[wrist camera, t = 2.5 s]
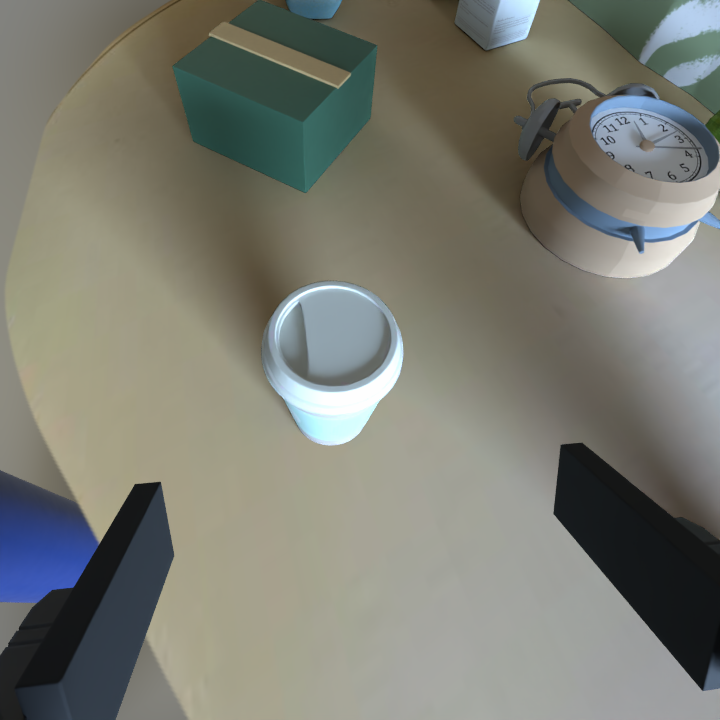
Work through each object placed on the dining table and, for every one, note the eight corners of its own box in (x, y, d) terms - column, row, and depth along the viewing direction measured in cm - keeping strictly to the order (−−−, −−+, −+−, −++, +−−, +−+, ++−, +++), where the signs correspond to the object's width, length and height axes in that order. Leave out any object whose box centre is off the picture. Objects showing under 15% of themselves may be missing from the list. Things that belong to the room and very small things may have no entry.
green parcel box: (191, 140, 51) (169, 62, 43) (265, 74, 57) (257, -5, 49) (307, 194, 48) (304, 120, 41) (372, 119, 54) (379, 43, 47)
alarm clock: (632, 229, 36) (492, 54, 46) (575, 299, 44) (466, 138, 54) (797, 185, 40) (636, 31, 50) (716, 256, 48) (591, 112, 58)
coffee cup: (307, 347, 40) (301, 253, 30) (400, 387, 39) (429, 305, 28) (255, 434, 36) (228, 363, 26) (357, 482, 35) (372, 428, 25)
